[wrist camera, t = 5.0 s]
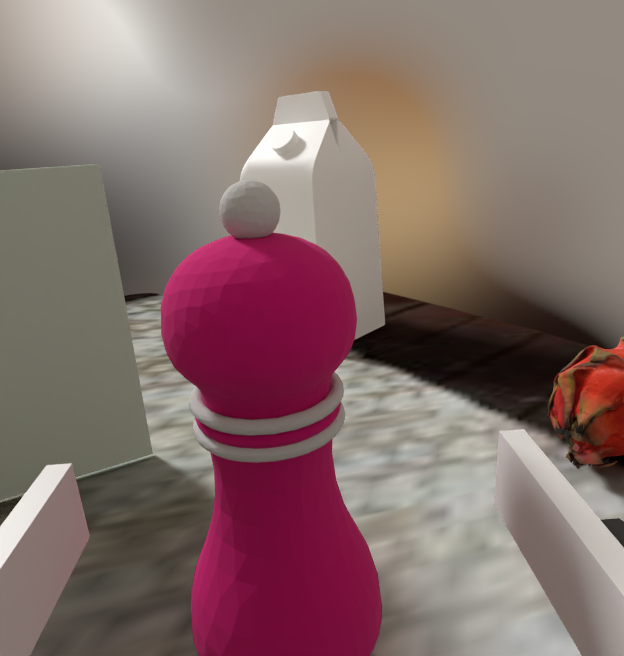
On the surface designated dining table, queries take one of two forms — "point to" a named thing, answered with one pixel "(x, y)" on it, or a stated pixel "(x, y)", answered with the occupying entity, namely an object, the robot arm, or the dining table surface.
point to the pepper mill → (271, 439)
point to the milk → (325, 193)
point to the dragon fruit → (591, 405)
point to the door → (63, 331)
